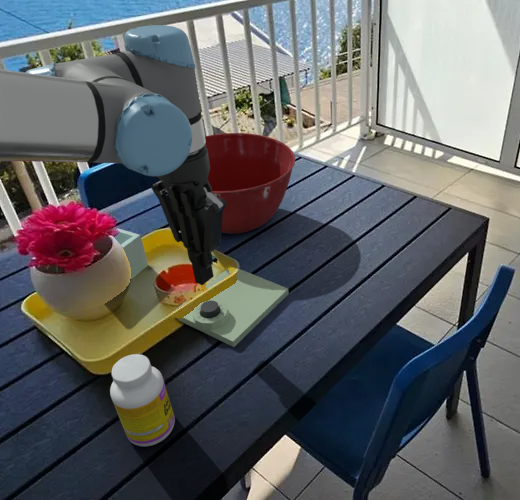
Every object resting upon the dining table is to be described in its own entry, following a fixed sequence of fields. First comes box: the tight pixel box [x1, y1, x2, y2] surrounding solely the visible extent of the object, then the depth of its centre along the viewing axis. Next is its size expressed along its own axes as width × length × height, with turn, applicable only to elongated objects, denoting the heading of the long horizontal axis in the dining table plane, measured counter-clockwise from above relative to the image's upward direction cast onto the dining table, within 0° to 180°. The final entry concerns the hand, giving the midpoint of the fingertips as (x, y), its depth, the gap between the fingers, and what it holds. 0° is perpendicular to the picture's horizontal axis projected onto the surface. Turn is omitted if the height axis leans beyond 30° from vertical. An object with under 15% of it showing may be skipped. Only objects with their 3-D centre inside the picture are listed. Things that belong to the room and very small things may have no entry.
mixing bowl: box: [205, 132, 296, 235], centre depth 113 cm, size 28×28×15 cm
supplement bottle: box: [109, 353, 176, 447], centre depth 68 cm, size 7×7×13 cm
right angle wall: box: [115, 227, 149, 280], centre depth 97 cm, size 12×12×8 cm
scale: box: [172, 268, 290, 348], centre depth 92 cm, size 16×14×3 cm
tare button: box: [201, 301, 219, 318], centre depth 87 cm, size 3×3×2 cm
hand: (204, 279), depth 83 cm, fingers closed
